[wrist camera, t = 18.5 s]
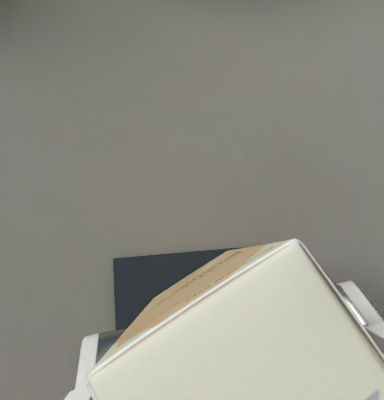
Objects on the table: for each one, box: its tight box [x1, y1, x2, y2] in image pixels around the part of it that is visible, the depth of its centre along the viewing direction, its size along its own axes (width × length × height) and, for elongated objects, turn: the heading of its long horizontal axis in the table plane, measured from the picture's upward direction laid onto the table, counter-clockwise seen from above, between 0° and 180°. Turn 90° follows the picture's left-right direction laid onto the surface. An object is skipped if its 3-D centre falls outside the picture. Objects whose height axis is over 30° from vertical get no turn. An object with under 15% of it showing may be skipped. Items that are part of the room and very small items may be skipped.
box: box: [85, 239, 384, 400], centre depth 11 cm, size 5×4×11 cm
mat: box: [113, 247, 245, 330], centre depth 16 cm, size 8×8×1 cm
